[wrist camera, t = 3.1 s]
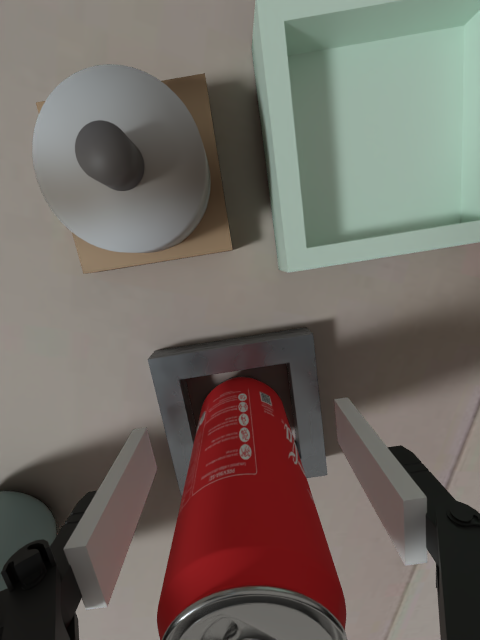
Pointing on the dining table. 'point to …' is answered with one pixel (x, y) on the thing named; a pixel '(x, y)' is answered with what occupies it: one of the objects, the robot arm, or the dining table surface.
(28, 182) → the dining table surface
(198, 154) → the service bell
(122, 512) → the robot arm
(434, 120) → the tray
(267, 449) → the beverage can
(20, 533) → the cup
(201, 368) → the frame
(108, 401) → the dining table surface
